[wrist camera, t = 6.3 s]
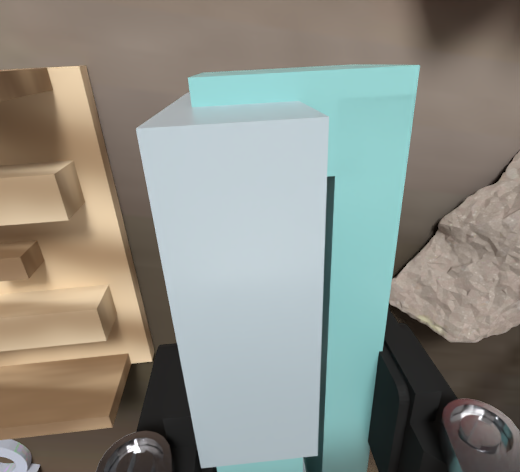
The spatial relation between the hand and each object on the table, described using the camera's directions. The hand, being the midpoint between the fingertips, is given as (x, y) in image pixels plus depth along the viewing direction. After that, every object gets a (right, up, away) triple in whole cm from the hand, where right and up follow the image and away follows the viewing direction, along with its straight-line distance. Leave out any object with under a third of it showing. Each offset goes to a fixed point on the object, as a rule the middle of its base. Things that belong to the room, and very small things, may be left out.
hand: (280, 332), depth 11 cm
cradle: (-15, +2, +12) cm, 19 cm away
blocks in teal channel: (-1, 0, +1) cm, 1 cm away
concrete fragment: (+14, +3, +15) cm, 21 cm away
